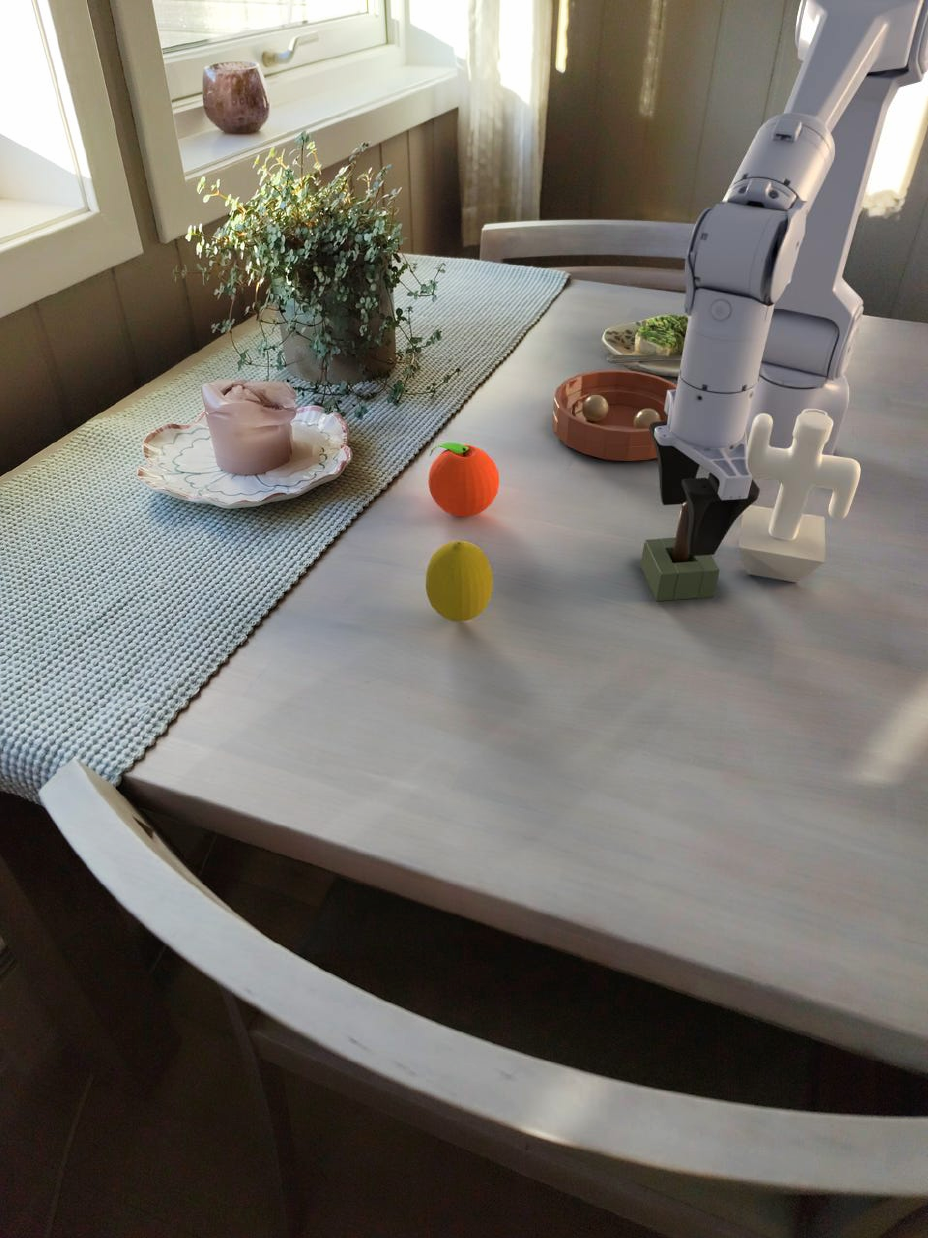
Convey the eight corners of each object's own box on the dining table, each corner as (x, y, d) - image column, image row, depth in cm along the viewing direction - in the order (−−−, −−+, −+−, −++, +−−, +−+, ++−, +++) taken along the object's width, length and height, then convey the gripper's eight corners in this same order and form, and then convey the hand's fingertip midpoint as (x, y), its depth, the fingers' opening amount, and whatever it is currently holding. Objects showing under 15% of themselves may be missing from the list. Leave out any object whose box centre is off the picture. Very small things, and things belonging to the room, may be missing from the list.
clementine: (407, 508, 87) (404, 445, 82) (452, 481, 91) (452, 419, 86) (467, 539, 83) (467, 474, 78) (512, 509, 87) (515, 446, 82)
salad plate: (642, 398, 105) (647, 362, 102) (567, 344, 118) (570, 310, 115) (767, 369, 112) (776, 335, 109) (684, 321, 124) (689, 289, 121)
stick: (681, 576, 78) (696, 496, 73) (685, 585, 77) (701, 505, 72) (666, 577, 78) (680, 497, 73) (670, 586, 77) (685, 506, 72)
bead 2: (654, 427, 99) (658, 403, 97) (662, 440, 97) (666, 415, 95) (629, 428, 99) (632, 404, 97) (636, 441, 96) (639, 417, 94)
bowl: (663, 397, 106) (668, 366, 103) (704, 460, 94) (711, 427, 92) (541, 404, 104) (543, 372, 102) (567, 468, 93) (570, 435, 90)
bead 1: (603, 413, 101) (606, 389, 100) (609, 425, 99) (612, 401, 97) (578, 414, 101) (580, 390, 99) (584, 426, 99) (586, 402, 97)
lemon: (425, 600, 76) (422, 524, 71) (488, 597, 76) (490, 521, 71) (428, 642, 72) (426, 565, 66) (495, 639, 72) (497, 561, 67)
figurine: (826, 597, 76) (880, 446, 66) (717, 578, 78) (753, 428, 69) (826, 551, 81) (875, 404, 72) (723, 534, 84) (758, 389, 74)
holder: (694, 562, 80) (700, 535, 78) (713, 597, 76) (720, 570, 74) (639, 566, 80) (644, 539, 78) (656, 601, 76) (661, 574, 74)
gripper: (639, 340, 70) (619, 484, 79) (697, 425, 59) (666, 581, 68) (723, 336, 71) (694, 480, 80) (795, 419, 60) (752, 575, 69)
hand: (686, 526), depth 74 cm, fingers open, 7 cm apart
